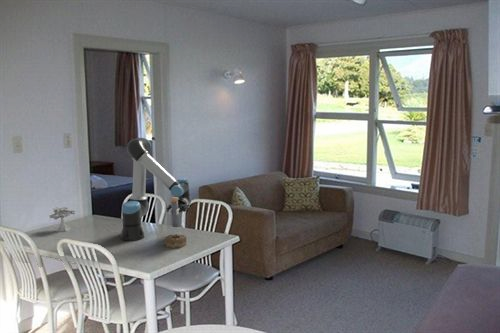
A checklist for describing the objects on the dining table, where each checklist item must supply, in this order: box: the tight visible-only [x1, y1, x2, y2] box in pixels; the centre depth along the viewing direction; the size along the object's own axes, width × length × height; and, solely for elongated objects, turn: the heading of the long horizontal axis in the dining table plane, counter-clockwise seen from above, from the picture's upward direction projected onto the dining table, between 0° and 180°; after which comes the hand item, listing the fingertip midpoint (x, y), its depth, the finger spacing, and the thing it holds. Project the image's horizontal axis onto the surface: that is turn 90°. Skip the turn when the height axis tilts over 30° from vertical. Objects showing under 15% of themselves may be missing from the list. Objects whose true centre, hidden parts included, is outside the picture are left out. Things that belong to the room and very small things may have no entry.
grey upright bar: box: [170, 196, 180, 228], centre depth 298 cm, size 4×4×18 cm
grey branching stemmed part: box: [48, 206, 76, 233], centre depth 338 cm, size 18×16×17 cm
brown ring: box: [164, 233, 187, 249], centre depth 300 cm, size 12×12×5 cm
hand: (173, 212), depth 293 cm, fingers closed on grey upright bar, 4 cm apart
